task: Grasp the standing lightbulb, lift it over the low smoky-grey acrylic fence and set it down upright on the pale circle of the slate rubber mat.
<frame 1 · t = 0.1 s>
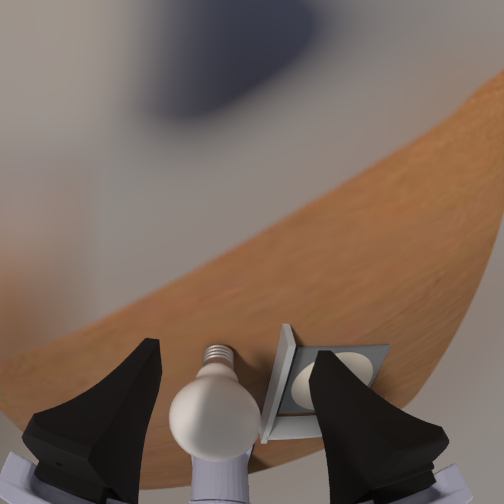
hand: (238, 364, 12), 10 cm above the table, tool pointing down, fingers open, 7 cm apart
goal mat: (332, 381, 26), on the table
lightbulb: (218, 349, 24), on the table
acrylic fence: (305, 382, 26), on the table
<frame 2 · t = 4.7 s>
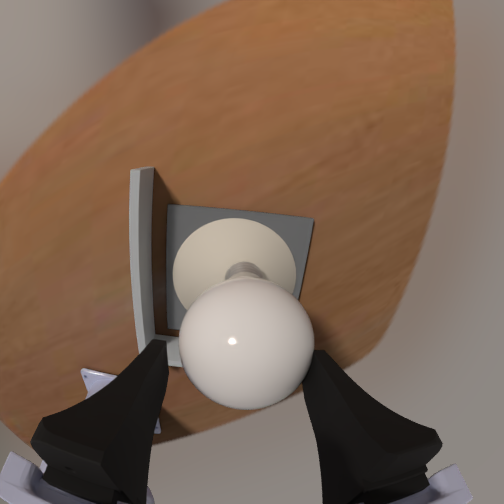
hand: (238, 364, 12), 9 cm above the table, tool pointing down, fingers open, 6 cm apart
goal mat: (234, 277, 21), on the table
lightbulb: (244, 274, 20), resting on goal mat, touching gripper
acrylic fence: (193, 273, 20), on the table
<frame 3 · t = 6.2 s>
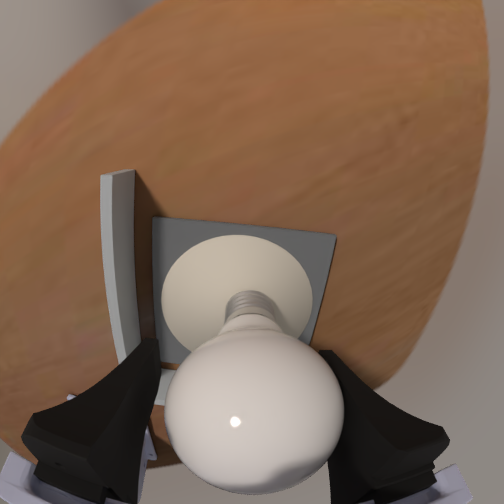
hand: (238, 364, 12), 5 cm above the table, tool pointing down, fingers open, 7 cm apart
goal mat: (236, 305, 17), on the table
lightbulb: (249, 302, 16), resting on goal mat, touching gripper
acrylic fence: (186, 301, 16), on the table
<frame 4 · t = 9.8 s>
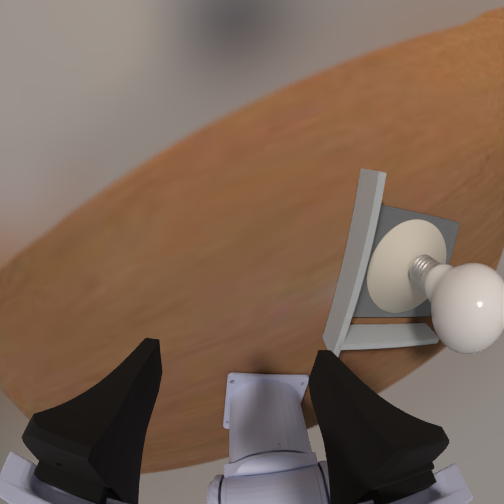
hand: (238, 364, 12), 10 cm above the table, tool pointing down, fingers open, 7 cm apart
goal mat: (408, 267, 22), on the table
lightbulb: (416, 264, 22), resting on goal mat
acrylic fence: (381, 264, 22), on the table
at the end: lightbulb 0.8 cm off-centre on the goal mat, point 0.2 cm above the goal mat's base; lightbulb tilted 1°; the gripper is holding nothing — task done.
